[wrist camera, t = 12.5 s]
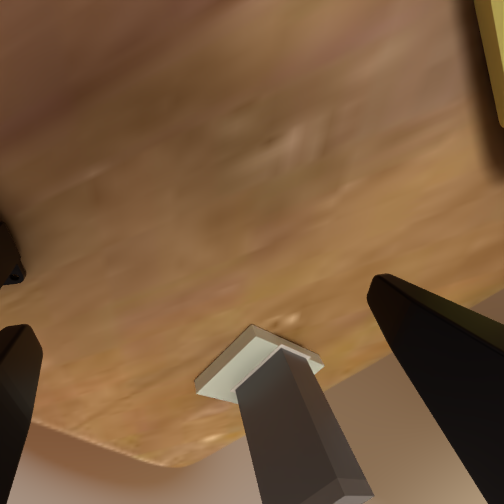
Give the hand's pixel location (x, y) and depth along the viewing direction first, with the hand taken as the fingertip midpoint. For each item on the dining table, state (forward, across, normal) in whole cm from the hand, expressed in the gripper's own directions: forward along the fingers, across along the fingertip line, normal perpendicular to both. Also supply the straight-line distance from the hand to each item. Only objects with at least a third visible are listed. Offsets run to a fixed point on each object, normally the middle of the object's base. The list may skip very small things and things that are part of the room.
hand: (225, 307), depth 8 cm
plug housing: (+12, -7, +22) cm, 26 cm away
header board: (+13, -6, +23) cm, 27 cm away
